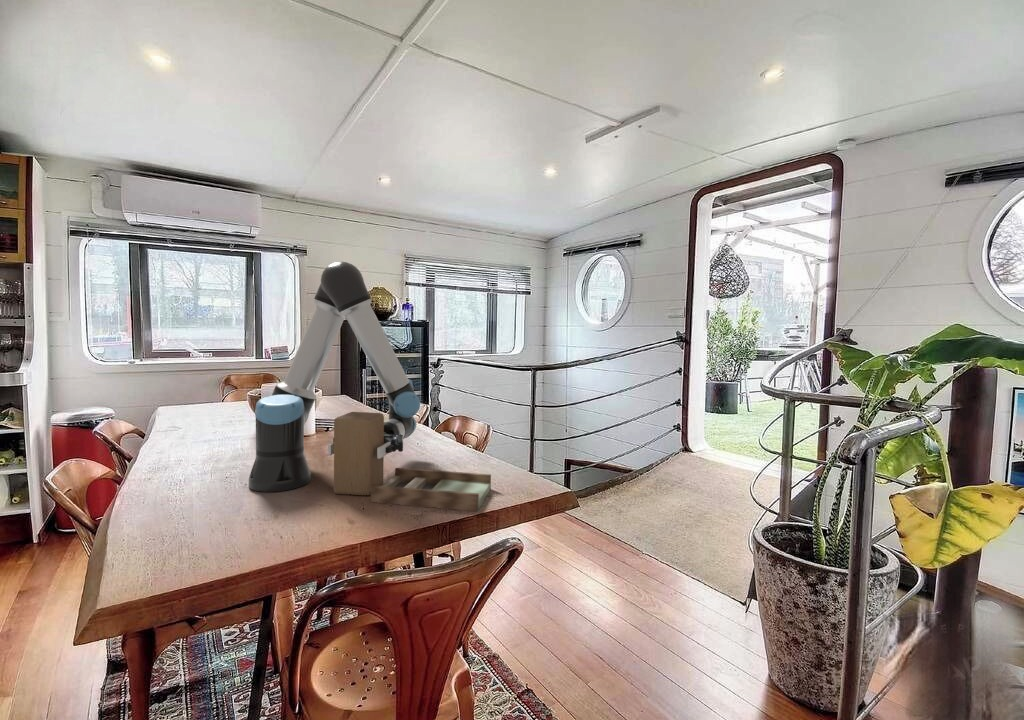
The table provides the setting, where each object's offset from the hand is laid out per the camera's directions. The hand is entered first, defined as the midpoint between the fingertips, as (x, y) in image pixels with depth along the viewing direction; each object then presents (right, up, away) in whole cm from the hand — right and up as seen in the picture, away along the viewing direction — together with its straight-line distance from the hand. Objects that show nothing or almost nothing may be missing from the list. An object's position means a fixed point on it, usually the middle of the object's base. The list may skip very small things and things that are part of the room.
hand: (353, 451), depth 118 cm
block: (0, -11, +4) cm, 12 cm away
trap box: (+20, -12, +1) cm, 23 cm away
